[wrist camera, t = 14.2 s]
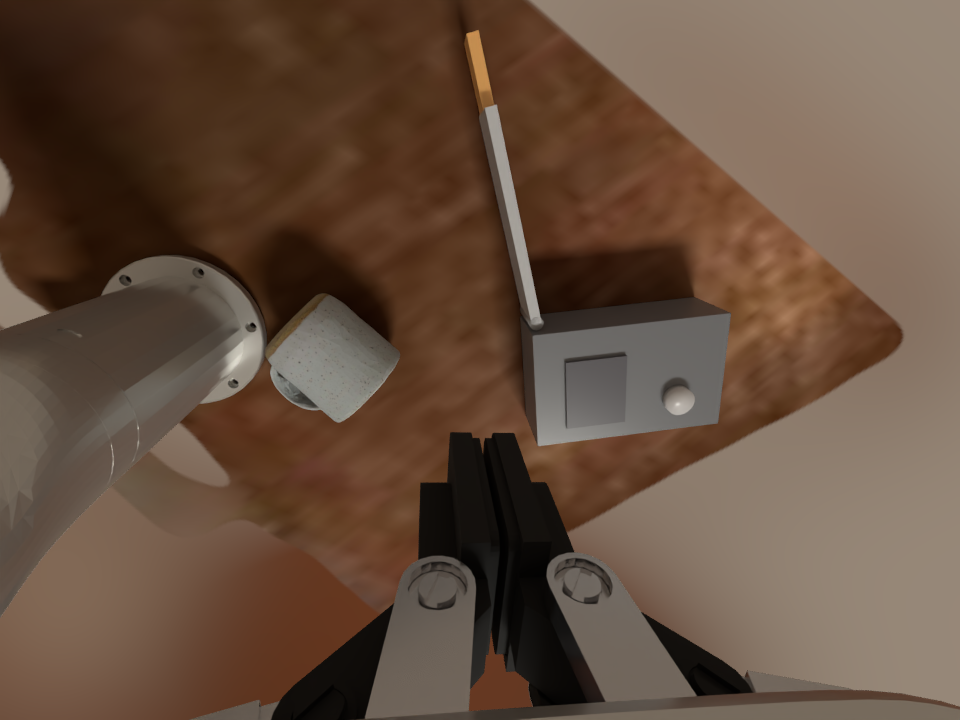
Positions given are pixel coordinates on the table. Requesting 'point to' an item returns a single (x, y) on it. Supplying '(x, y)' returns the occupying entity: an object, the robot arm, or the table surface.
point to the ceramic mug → (329, 358)
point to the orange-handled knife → (502, 181)
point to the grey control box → (624, 369)
